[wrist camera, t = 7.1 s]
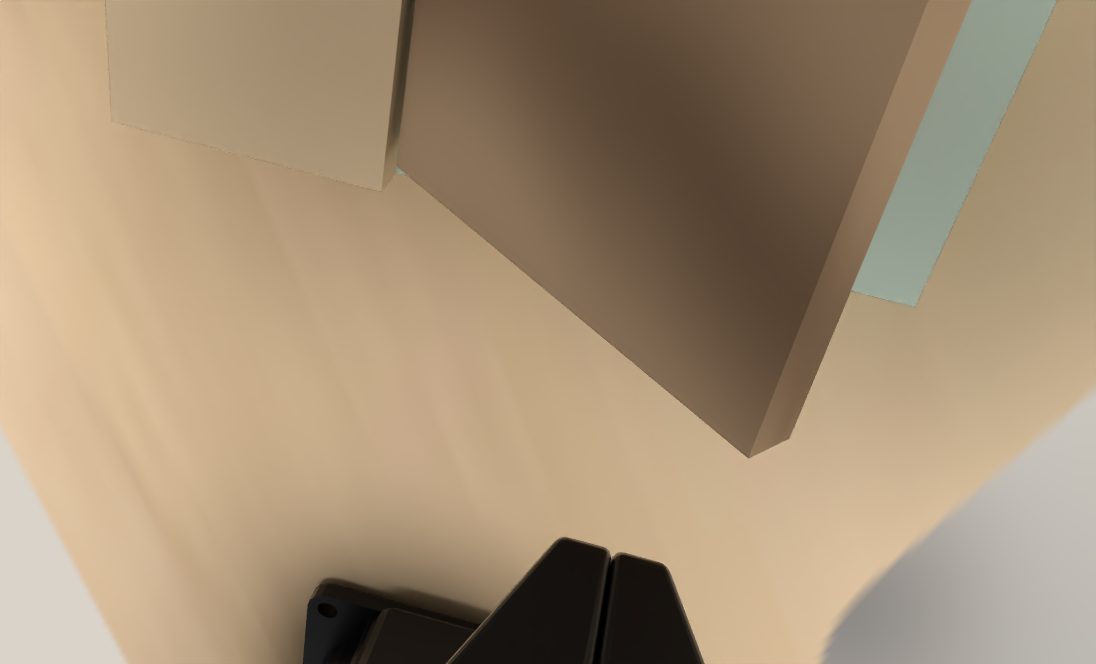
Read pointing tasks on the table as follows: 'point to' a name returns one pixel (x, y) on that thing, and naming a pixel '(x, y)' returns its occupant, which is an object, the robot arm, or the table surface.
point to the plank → (680, 169)
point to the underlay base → (379, 88)
